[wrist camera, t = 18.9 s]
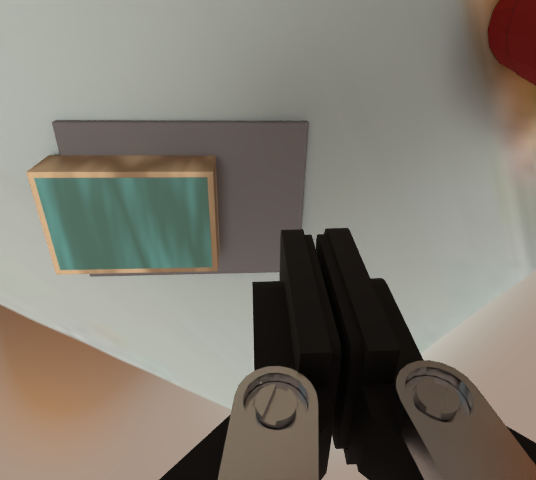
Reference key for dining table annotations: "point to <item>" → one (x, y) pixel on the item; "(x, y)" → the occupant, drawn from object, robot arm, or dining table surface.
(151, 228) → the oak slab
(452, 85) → the dining table surface
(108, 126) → the mat
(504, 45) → the plastic cup
